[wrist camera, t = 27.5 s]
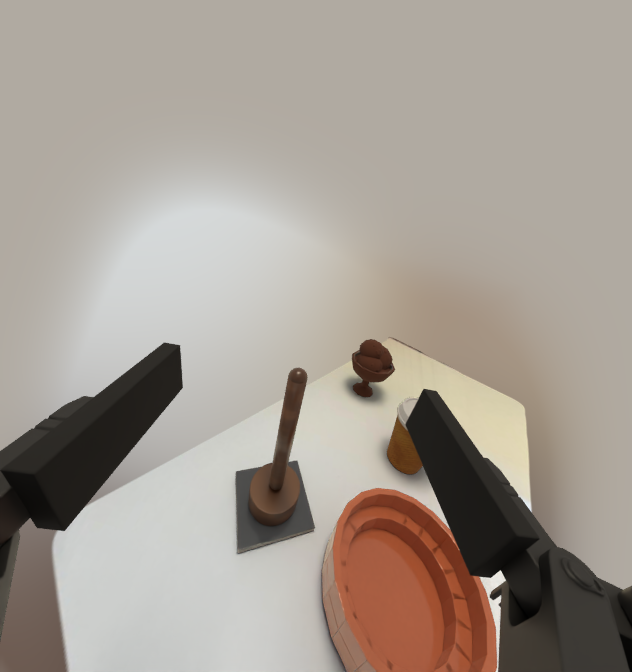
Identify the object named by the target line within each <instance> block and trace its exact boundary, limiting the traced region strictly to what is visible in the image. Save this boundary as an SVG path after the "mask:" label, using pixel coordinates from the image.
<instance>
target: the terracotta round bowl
mask: <svg viewBox="0 0 632 672" xmlns="http://www.w3.org/2000/svg"><path fill="white" fill-rule="evenodd" d="M322 587H323V604H324V608H325V612H326V617H327V621H328V625H329V630H330V634H331V638H332V640H333V643H334V645H335V647H336V649H337V651H338V653H339V655H340V658H341V660H342V662H343V664H344V666H345V668H346V670H347V672H495V671H496V668H497V652H496V629H495V628H496V627H495V623H494V619H493V615H492V612H491V608H490V604H489V600H488V597H487V593H486V591H485V588H484V586H483V584H482V582H481V580H480V578H479V576H470V574H469V572H468V569H467V567H466V565H465V562H464V560H463V558H462V555H461V553H460V551H459V548H458V546H457V544H456V541H455V539H454V537H453V534H452V532H451V530H450V529H449V528H448V527H447V526H446V525H445V524H444V523H443V522H442V521H441V520H440V519H439V517H438V516H437V515H436V514H435V513H433V511H431V510H430V509H429V508H427V507H426V506H424V505H423V504H422V503H420V502H419V501H417V500H416V499H415V498H413V497H410V496H408V495H406V494H403V493H401V492H399V491H396V490H390V489H381V488H375V489H372V490H368V491H364V492H361V493H360V494H359V495H357V496H356V497H355V498H353V499H352V500H351V501H350V502H348V503H347V505H346V507H345V509H344V511H343V512H342V514H341V516H340V518H339V520H338V522H337V524H336V526H335V528H334V530H333V533H332V535H331V537H330V539H329V542H328V544H327V548H326V553H325V558H324V562H323V567H322Z"/></svg>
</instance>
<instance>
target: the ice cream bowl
mask: <svg viewBox="0 0 632 672" xmlns="http://www.w3.org/2000/svg"><path fill="white" fill-rule="evenodd" d="M352 363H353V369H354V371H355V372H356V374H357V375H359V376H360V377H361V378H362V379H363V381H362V383H356V384H355V385H354V386H353V390H354V391H355V392H356V393H357V394H358V395H360V396H362V397H370V396H371V395H373V392H372V388H370V387H369V386H368V384H369V382H382V381H384V380H385V379H387V378H388V377H389V376H390V375H391V374H392V373H393V372H394V370H395V368H394V366H393V363H392V356H391V355H390V353H389V351H388V349H386V348H385V347H384V346H382V344H381V343H380V342H377V341H376V340H372V339H370V340H366V341H364V342H363V343H362V344H361V345H360V350H359V351H357V352H355V353H353V354H352Z"/></svg>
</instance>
